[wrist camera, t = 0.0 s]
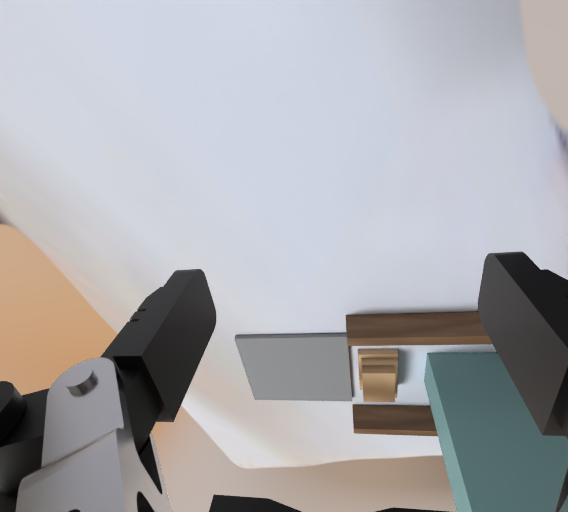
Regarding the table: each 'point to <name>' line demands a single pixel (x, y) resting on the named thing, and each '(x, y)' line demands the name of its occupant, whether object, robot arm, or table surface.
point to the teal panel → (491, 437)
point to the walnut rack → (408, 332)
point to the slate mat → (297, 366)
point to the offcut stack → (378, 374)
